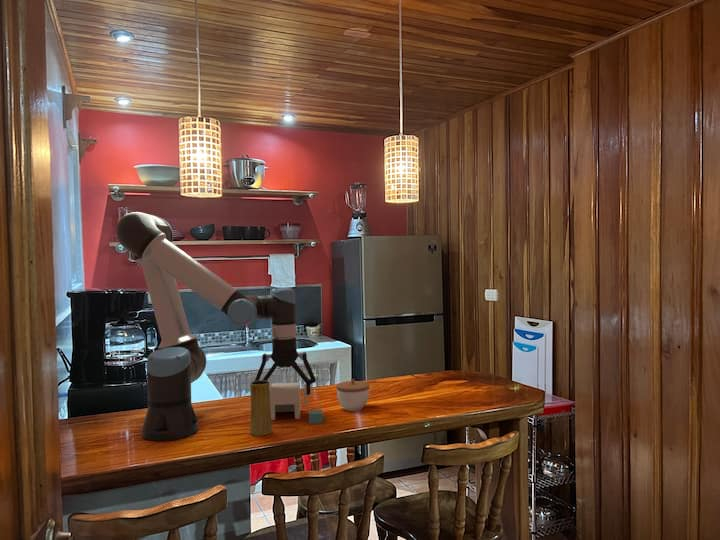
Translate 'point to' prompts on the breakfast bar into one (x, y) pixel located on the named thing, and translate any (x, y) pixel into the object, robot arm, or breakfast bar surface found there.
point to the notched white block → (285, 398)
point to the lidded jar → (352, 394)
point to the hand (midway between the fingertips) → (285, 406)
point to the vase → (260, 408)
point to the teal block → (315, 416)
